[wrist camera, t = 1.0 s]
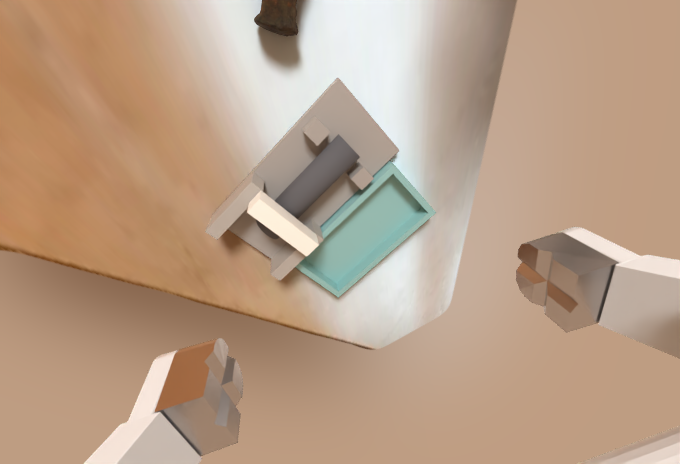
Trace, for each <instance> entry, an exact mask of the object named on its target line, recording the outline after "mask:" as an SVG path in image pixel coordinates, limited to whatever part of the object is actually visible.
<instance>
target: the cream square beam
mask: <svg viewBox="0 0 680 464" xmlns="http://www.w3.org/2000/svg"><path fill="white" fill-rule="evenodd" d="M247 213H248V214H250V215H251V216H253V217H254V218H255V219H257V220H258V221H259V222H261V223H262V224H263V225H265V226H266V227H267V228H269V229H270V230H271V231H273V232H274V233H275V234H277V235H278V236H280V237H281V238H282V239H284V240H285V241H286V242H288V243H289V244H290V245H292V246H293V247H294V248H296V249H297V250H298V251H300V252H301V253H303V254H304V255H305V256H308V255H309V254H310V253H311V252H312V251H313V250H314V249H315V248H317V247H318V246H319V243H318V239H317V235H316V234H315V233H314V232H313V231H311V230H310V229H309V228H308V227H306V226H305V225H304V224H303V223H301V222H300V221H299V220H298V219H296V218H295V217H294V216H293V215H291V214H290V213H289V212H288V211H286V210H285V209H284V208H283V207H281V206H280V205H279V204H278V203H276V202H275V201H274V200H273V199H271V198H270V197H269V196H268V195H266V194H265V193H264V192H263V191H260V192H259V193H258V194H257V195H256V196H255V197H254V198H253V199H252V200H251V201H250V202H249V205H248V210H247Z"/></svg>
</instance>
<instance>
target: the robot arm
mask: <svg viewBox="0 0 680 464" xmlns="http://www.w3.org/2000/svg"><path fill="white" fill-rule="evenodd" d="M518 258H519V259H520V260H521V261H522V263H521V264H520V266H519V267H518V269H517V271H516V281H517V284H518V286H519V289H520V291H521V292H522V293H523V294H524V296H525V297H526V298H527V299H528V300H529V301H531V302H532V303H535V304H538V305H541V306H544V312H545V315H547V316H548V317H549V318H550V319H551V320H552V321H553V322H555V323H556V324H557V325H558V326H559V327H561V328H562V329H563V330H564V331H565V332H570V331H573V330H577V329H580V328H583V327H586V326H590V325H593V324H596V323H599V324H598V325H600V326H603V327H605V328H607V329H610V330H612V331H615V332H617V333H619V334H622V335H624V336H627V337H629V338H631V339H634V340H636V341H639V342H641V343H643V344H646V345H648V346H651V347H653V348H655V349H658V350H660V351H663V352H665V353H668V354H670V355H672V356H675V357H677V358H680V260H675V259H669V258H663V257H657V256H651V255H645V256H639V255H637V254H635V253H633V252H630V251H629V250H627V249H625V248H623V247H621V246H618V245H616V244H614V243H612V242H610V241H608V240H606V239H604V238H602V237H600V236H598V235H596V234H594V233H592V232H590V231H587V230H586V229H583V228H579V227H572V228H570V229H567V230H563V231H560V232H557V233H556V234H552V235H549V236H546V237H543V238H540V239H536V240H533V241H530V242H527V243H524V244H522V245H521V246H520V248H519V249H518ZM227 353H228V346H227V345H226V343H225V342H224V340H223V339H219V338H218V339H214V340H210V341H207V342H203V343H200V344H196V345H193V346H189V347H186V348H183V349H180V350H177V351H173V352H170V353H166V354H163V355H160V356H158V357H157V358H156V359H155V360H154V361H153V364H152V366H151V369H150V370H149V373H148V375H147V378H146V380H145V382H144V385H143V387H142V389H141V392H140V394H139V397H138V399H137V401H136V404H135V406H134V408H133V411H132V413H131V415H130V418H129V420H128V422H126V423H124V424H121V425H119V427H118V428H117V429H116V430H115V431H114V432H113V433H112V434H111V435H110V436H109V437H108V438H107V439H106V441H105V442H104V443H103V444H102V445H101V446H100V447H99V448H98V449H97V450H96V451H95V452H94V453H93V454H92V455H91V456H90V458H89V459H88V460H87V461H86V462H85V463H84V464H199V462H200V461H201V459H202V458H201V456H203V455H205V454H208V453H211V452H214V451H216V450H219V449H222V448H224V447H227V446H230V445H233V444H236V443H238V435H239V425H240V413H239V411H238V409H237V408H236V405H237V404H238V402H239V401H240V399H241V398H242V394H243V381H242V373H241V370H240V367H239V365H238V363H237V362H236V360H235V359H234V358H231V357H229V356H227ZM578 464H680V426H678V427H675V428H672V429H670V430H667V431H664V432H661V433H659V434H656V435H653V436H651V437H648V438H645V439H642V440H640V441H637V442H634V443H632V444H629V445H626V446H623V447H621V448H618V449H615V450H613V451H610V452H607V453H604V454H602V455H599V456H596V457H594V458H591V459H588V460H586V461H583V462H580V463H578Z"/></svg>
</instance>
